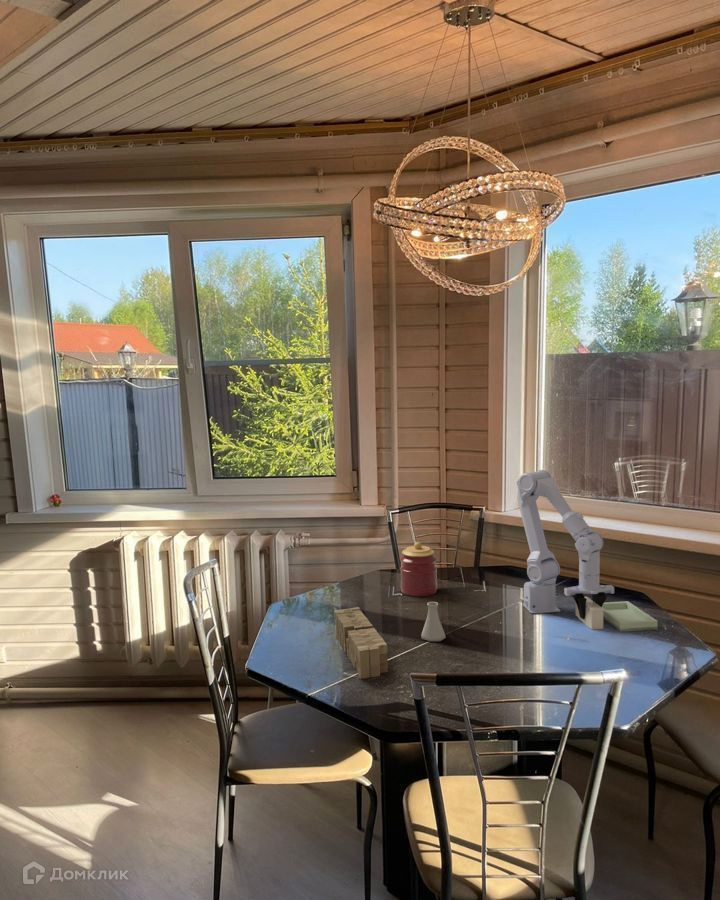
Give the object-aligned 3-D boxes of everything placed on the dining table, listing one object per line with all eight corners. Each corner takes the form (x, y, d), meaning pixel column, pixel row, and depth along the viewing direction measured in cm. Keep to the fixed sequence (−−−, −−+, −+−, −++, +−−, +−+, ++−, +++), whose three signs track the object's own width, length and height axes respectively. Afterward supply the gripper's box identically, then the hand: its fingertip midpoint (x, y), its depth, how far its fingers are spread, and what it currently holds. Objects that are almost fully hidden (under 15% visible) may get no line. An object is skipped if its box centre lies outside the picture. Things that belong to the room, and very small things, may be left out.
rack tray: (620, 631, 180) (620, 623, 180) (593, 611, 197) (594, 603, 197) (657, 629, 181) (657, 621, 181) (627, 608, 198) (627, 601, 198)
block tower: (389, 678, 158) (360, 632, 186) (389, 646, 157) (360, 605, 185) (359, 683, 156) (334, 635, 184) (358, 650, 155) (333, 608, 183)
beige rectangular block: (591, 629, 183) (591, 609, 182) (575, 616, 194) (575, 597, 193) (603, 628, 183) (603, 608, 182) (586, 615, 194) (586, 596, 193)
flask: (448, 633, 183) (447, 600, 182) (443, 643, 176) (442, 608, 175) (424, 631, 185) (423, 598, 184) (418, 640, 179) (417, 606, 178)
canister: (402, 585, 229) (400, 537, 227) (437, 585, 227) (436, 537, 225) (399, 596, 216) (397, 546, 214) (437, 597, 214) (436, 546, 213)
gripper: (571, 578, 182) (571, 623, 184) (619, 575, 183) (618, 620, 185) (561, 571, 189) (561, 615, 191) (607, 568, 190) (607, 612, 192)
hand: (589, 617), depth 188 cm, fingers closed on beige rectangular block, 3 cm apart
